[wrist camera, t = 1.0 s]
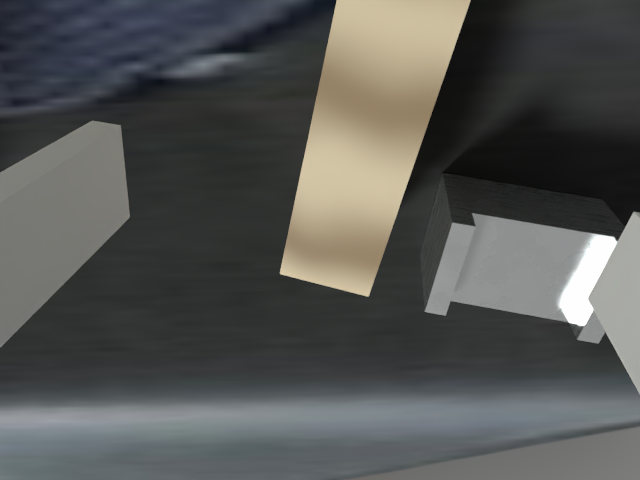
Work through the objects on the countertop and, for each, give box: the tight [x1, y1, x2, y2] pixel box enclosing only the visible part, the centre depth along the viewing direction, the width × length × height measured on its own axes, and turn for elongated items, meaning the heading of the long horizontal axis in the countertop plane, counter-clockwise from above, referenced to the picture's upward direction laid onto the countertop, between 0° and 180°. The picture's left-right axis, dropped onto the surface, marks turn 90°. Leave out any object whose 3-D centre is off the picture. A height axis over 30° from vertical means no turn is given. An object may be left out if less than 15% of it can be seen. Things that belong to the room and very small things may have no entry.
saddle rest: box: [420, 173, 625, 343], centre depth 29 cm, size 10×6×6 cm, turn 83°
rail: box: [280, 0, 471, 297], centre depth 24 cm, size 20×5×8 cm, turn 168°
